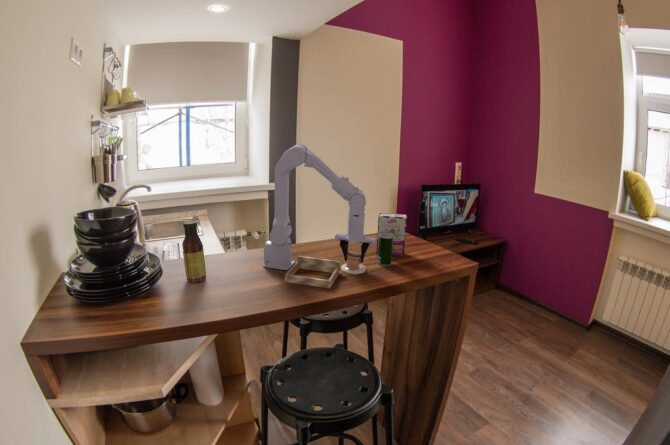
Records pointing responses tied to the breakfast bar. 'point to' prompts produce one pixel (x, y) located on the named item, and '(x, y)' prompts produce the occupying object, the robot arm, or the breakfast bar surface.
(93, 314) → the breakfast bar surface
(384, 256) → the beer can
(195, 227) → the sauce bottle
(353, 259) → the flower pot
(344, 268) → the coaster
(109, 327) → the breakfast bar surface
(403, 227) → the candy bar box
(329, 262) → the frame
